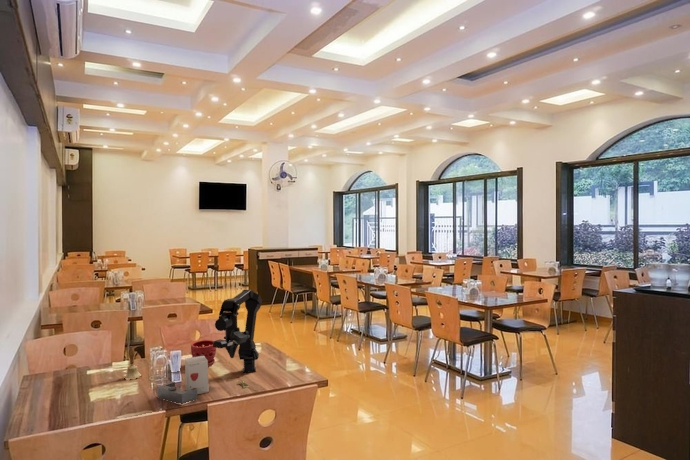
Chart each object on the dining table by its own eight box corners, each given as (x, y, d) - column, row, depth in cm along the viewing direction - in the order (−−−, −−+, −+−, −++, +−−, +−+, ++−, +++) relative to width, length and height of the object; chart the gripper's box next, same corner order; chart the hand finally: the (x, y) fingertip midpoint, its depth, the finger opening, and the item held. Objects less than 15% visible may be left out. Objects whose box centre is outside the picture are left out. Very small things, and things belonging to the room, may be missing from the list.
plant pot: (186, 366, 256) (185, 344, 256) (206, 359, 267) (205, 338, 266) (202, 370, 249) (201, 347, 248) (221, 363, 259) (221, 341, 259)
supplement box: (188, 396, 213) (187, 363, 212) (185, 389, 220) (184, 358, 220) (209, 392, 217) (208, 360, 216) (205, 386, 225) (204, 355, 224)
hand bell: (129, 381, 234) (127, 349, 234) (120, 378, 239) (119, 346, 239) (144, 376, 241) (143, 345, 240) (136, 373, 246) (135, 343, 245)
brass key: (236, 383, 227) (236, 382, 227) (242, 382, 229) (242, 380, 229) (243, 388, 221) (243, 386, 221) (250, 386, 223) (249, 385, 223)
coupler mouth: (173, 392, 218) (172, 380, 218) (197, 399, 208) (196, 387, 208) (157, 398, 211) (157, 385, 211) (181, 405, 202) (181, 392, 201)
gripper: (228, 332, 216) (229, 366, 216) (257, 323, 231) (258, 355, 232) (211, 329, 222) (212, 362, 222) (241, 321, 237) (242, 352, 238)
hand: (232, 358), depth 228 cm, fingers closed
